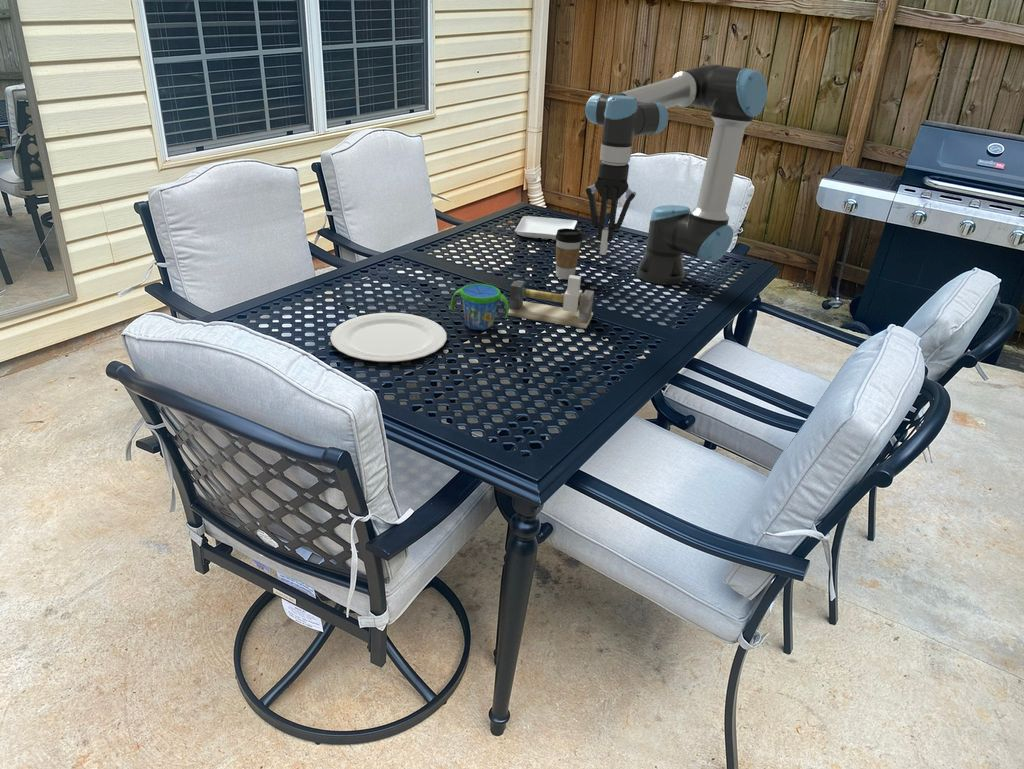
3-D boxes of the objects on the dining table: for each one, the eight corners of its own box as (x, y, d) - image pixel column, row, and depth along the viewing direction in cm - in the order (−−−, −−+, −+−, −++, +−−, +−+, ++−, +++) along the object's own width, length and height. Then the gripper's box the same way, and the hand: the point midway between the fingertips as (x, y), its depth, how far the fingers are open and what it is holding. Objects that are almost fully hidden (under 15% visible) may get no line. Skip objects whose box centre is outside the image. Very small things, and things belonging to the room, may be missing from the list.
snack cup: (512, 323, 202) (514, 288, 197) (500, 338, 193) (502, 302, 188) (459, 313, 206) (460, 279, 201) (444, 328, 197) (445, 292, 192)
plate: (396, 379, 170) (396, 372, 170) (305, 345, 183) (305, 338, 183) (469, 338, 193) (469, 331, 192) (383, 309, 206) (383, 303, 205)
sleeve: (580, 306, 207) (583, 275, 203) (576, 312, 203) (580, 281, 199) (566, 304, 208) (569, 273, 204) (562, 310, 204) (565, 278, 200)
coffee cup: (568, 282, 232) (573, 236, 225) (546, 276, 236) (550, 230, 229) (583, 276, 238) (588, 230, 231) (561, 269, 242) (565, 225, 235)
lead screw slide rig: (593, 315, 210) (596, 289, 206) (586, 328, 202) (589, 302, 198) (515, 302, 215) (517, 277, 211) (505, 314, 207) (507, 288, 203)
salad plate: (513, 239, 270) (514, 229, 268) (522, 223, 288) (523, 214, 287) (571, 245, 267) (572, 236, 266) (576, 228, 286) (577, 220, 284)
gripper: (642, 162, 186) (629, 252, 198) (591, 156, 189) (582, 245, 200) (638, 168, 180) (625, 260, 191) (585, 161, 183) (576, 253, 194)
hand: (603, 252), depth 196 cm, fingers closed
